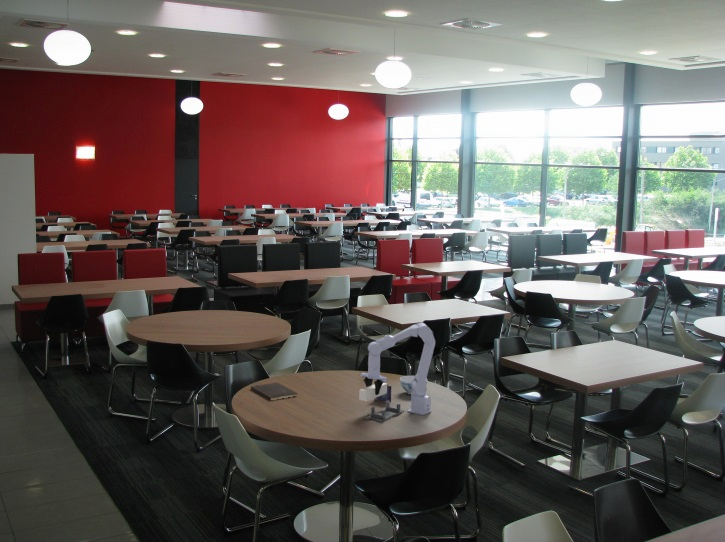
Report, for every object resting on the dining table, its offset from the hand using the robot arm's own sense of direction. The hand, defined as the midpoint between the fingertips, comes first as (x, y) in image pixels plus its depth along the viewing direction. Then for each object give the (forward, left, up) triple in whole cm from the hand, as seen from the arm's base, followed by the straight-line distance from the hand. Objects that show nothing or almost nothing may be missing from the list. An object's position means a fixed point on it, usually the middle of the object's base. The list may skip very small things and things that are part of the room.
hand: (373, 393), depth 358 cm
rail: (0, 0, -2) cm, 2 cm away
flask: (+6, -18, -10) cm, 22 cm away
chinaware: (+1, -40, -10) cm, 42 cm away
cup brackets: (-8, 0, -9) cm, 12 cm away
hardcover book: (+58, +8, -10) cm, 60 cm away
